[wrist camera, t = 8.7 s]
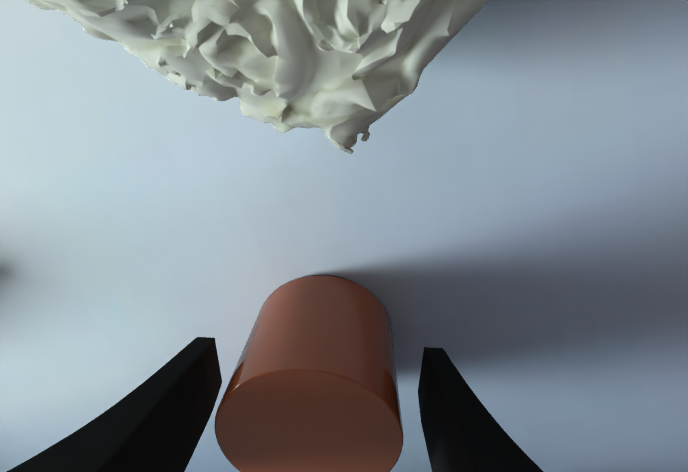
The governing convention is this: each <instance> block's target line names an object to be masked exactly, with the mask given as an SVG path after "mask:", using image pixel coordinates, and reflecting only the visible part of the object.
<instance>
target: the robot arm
mask: <svg viewBox="0 0 688 472" xmlns="http://www.w3.org/2000/svg"><path fill="white" fill-rule="evenodd" d="M221 383H222V379H221V373H220V367H219V361H218V355H217V350H216V344H215V338H206V337H197V338H196V339H194V340H193V341H192V342H191V343H190V344H188V345H187V346H186V347H185V348H184V349H183V350H181V351H180V352H179V353H178V354H177V355H176V356H175V357H173V358H172V359H171V360H170V361H169V362H168V363H166V364H165V365H164V366H163V367H162V368H160V369H159V370H158V371H157V372H156V373H155V374H153V375H152V376H151V377H150V378H149V379H147V380H146V381H145V382H144V383H142V384H141V385H140V386H138V387H137V388H136V389H135V390H133V391H132V392H131V393H129V394H128V395H127V396H126V397H124V398H123V399H122V400H120V401H119V402H118V403H117V404H115V405H114V406H112V407H111V408H110V409H108V410H107V411H105V412H104V413H103V414H101V415H100V416H98V417H97V418H95V419H94V420H92V421H91V422H89V423H88V424H86V425H85V426H83V427H82V428H80V429H79V430H77V431H76V432H74V433H73V434H71V435H69V436H68V437H66V438H64V439H63V440H61V441H59V442H58V443H56V444H54V445H53V446H51V447H49V448H48V449H46V450H44V451H43V452H41V453H39V454H38V455H36V456H34V457H33V458H31V459H29V460H27V461H25V462H23V463H22V464H20V465H18V466H16V467H14V468H13V469H11V470H9V471H7V472H184V471H185V469H186V467H187V465H188V463H189V461H190V459H191V456H192V454H193V452H194V450H195V448H196V446H197V444H198V441H199V439H200V437H201V435H202V433H203V431H204V429H205V426H206V424H207V422H208V420H209V418H210V415H211V413H212V411H213V408H214V405H215V402H216V399H217V396H218V393H219V390H220V387H221ZM418 397H419V407H420V415H421V423H422V428H423V432H424V437H425V441H426V446H427V450H428V455H429V459H430V464H431V468H432V472H543V471H542V470H541V469H540V468H539V467H538V466H537V465H536V464H535V463H534V462H533V461H532V460H531V459H530V458H529V457H528V456H527V455H526V454H525V453H524V452H523V451H522V450H521V449H520V448H519V446H518V445H517V444H516V443H515V442H514V441H513V440H512V439H511V438H510V437H509V436H508V434H507V433H506V432H505V431H504V430H503V429H502V428H501V426H500V425H499V424H498V423H497V422H496V420H495V419H494V418H493V417H492V416H491V414H490V413H489V412H488V411H487V410H486V408H485V407H484V406H483V404H482V403H481V402H480V401H479V399H478V398H477V397H476V395H475V394H474V393H473V391H472V390H471V389H470V387H469V386H468V384H467V383H466V382H465V380H464V379H463V377H462V376H461V375H460V373H459V372H458V370H457V369H456V367H455V366H454V364H453V363H452V361H451V360H450V358H449V356H448V355H447V353H446V352H445V350H444V349H443V348H426V347H424V352H423V359H422V366H421V373H420V380H419V387H418Z"/></svg>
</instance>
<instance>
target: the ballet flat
mask: <svg viewBox="0 0 688 472" xmlns="http://www.w3.org/2000/svg"><path fill="white" fill-rule="evenodd" d="M26 1H27V2H29V3H31V4H32V5H34V6H36V7H39V8H41V9H46V10H58V11H60V12H61V13H63V14H64V15H66V16H68V17H69V18H71V19H73V20H74V21H76V22H78V23H79V24H81V26H82V28H83V29H84V31H85V32H86V33H88V34H90V35H91V36H93V37H94V38H99V39H104V40H111V41H117V42H120V43H121V45H122V46H123V47H124V48H125V49H126V50H127V52H128V53H129V54H132V55H136V56H137V57H139V58H140V59H141V60H142V61H143V63H144V64H145V65H146V66H147V67H148V68H151V69H153V70H155V71H157V72H158V73H160V74H162V75H163V76H165V77H166V78H167V79H169V80H170V81H171V82H172V83H174V84H175V85H178V86H181V87H182V88H184V89H185V90H190V89H191V90H192V91H193V92H194V93H197V94H198V95H199V96H208V97H212V99H213V100H215V101H226V100H228V99H230V98H233V97H239V98H240V99H241V100H240V107H241V111H242V113H243V114H244V116H245V117H253V118H255V119H258V120H260V121H262V122H264V123H270V124H271V125H272V126H273V127H274V128H275V129H276V130H278V131H279V132H281V133H285V132H287V131H289V130H291V129H293V128H295V127H301V128H312V127H319V128H321V129H322V130H323V131H324V132H325V134H326V135H327V136H328V137H329V139H330V140H331V142H332V143H333V144H334V145H335V146H336V147H337V148H339V149H342V150H344V151H345V152H347V153H349V154H351V153H352V152H354V151H353V150H352V149H350V147H352V146H354V145H355V143H356V141H357V134H359V133H363V134H364V135H363V137H362V139H361V140H362V141H367V139H368V138H369V135H370V133H369V132H368V128H369V125H370V124H372V123H373V122H375V121H376V120H378V119H379V118H381V117H382V116H383V115H384V114H385V113H386V112H387V111H389V110H390V109H391V108H392V107H393V106H395V105H396V104H397V103H398V102H399V101H401V100H402V99H403V98H405V97H406V96H408V95H409V94H411V93H413V91H414V90H415V88H416V87H417V84H418V81H419V78H420V76H421V73H422V71H423V69H424V68H425V67H426V66H427V65H428V63H429V62H430V61H431V60H432V59H433V58H434V57H435V56H436V55H437V54H438V53H439V52H440V51H441V50H442V49H443V48H444V47H445V46H446V44H447V43H448V42H449V41H450V40H451V39H452V38H453V37H454V36H455V35H456V34H457V33H458V32H459V31H460V30H461V29H462V27H463V26H464V25H465V24H466V23H467V22H468V21H469V20H470V19H471V18H472V17H473V16H474V15H475V14H476V13H477V12H478V11H479V10H480V9H481V8H482V7H483V5H484V4H485V3H486V2H487V1H488V0H26Z"/></svg>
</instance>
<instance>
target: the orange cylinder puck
mask: <svg viewBox="0 0 688 472" xmlns="http://www.w3.org/2000/svg"><path fill="white" fill-rule="evenodd" d="M215 434H216V438H217V441H218V444H219V446H220V448H221V450H222V452H223V453H224V455H225V456H226V458H227V459H228V460H229V461H230V462H231V464H232V465H233V466H234V467H236V468H237V469H238V470H239V471H240V472H389V471H390V470H391V469H392V468H393V467H394V465H395V464H396V462H397V461H398V458H399V456H400V454H401V451H402V446H403V429H402V420H401V411H400V402H399V393H398V384H397V375H396V366H395V357H394V348H393V339H392V330H391V323H390V320H389V317H388V314H387V312H386V310H385V308H384V307H383V305H382V304H381V303H380V301H379V300H378V299H377V298H376V297H375V296H374V295H373V294H372V293H370V292H369V291H368V290H367V289H365V288H364V287H362V286H360V285H358V284H356V283H354V282H352V281H349V280H346V279H343V278H339V277H335V276H326V275H314V276H306V277H302V278H298V279H295V280H292V281H290V282H288V283H286V284H284V285H282V286H280V287H279V288H278V289H276V290H275V291H274V292H273V293H272V294H271V295H270V296H269V297H268V298H267V300H266V301H265V302H264V304H263V306H262V308H261V310H260V312H259V314H258V317H257V319H256V321H255V324H254V326H253V328H252V331H251V333H250V335H249V338H248V340H247V342H246V345H245V347H244V349H243V351H242V354H241V356H240V358H239V361H238V363H237V365H236V368H235V370H234V372H233V375H232V377H231V379H230V382H229V384H228V386H227V388H226V391H225V393H224V395H223V398H222V400H221V402H220V405H219V407H218V410H217V413H216V416H215Z"/></svg>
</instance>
